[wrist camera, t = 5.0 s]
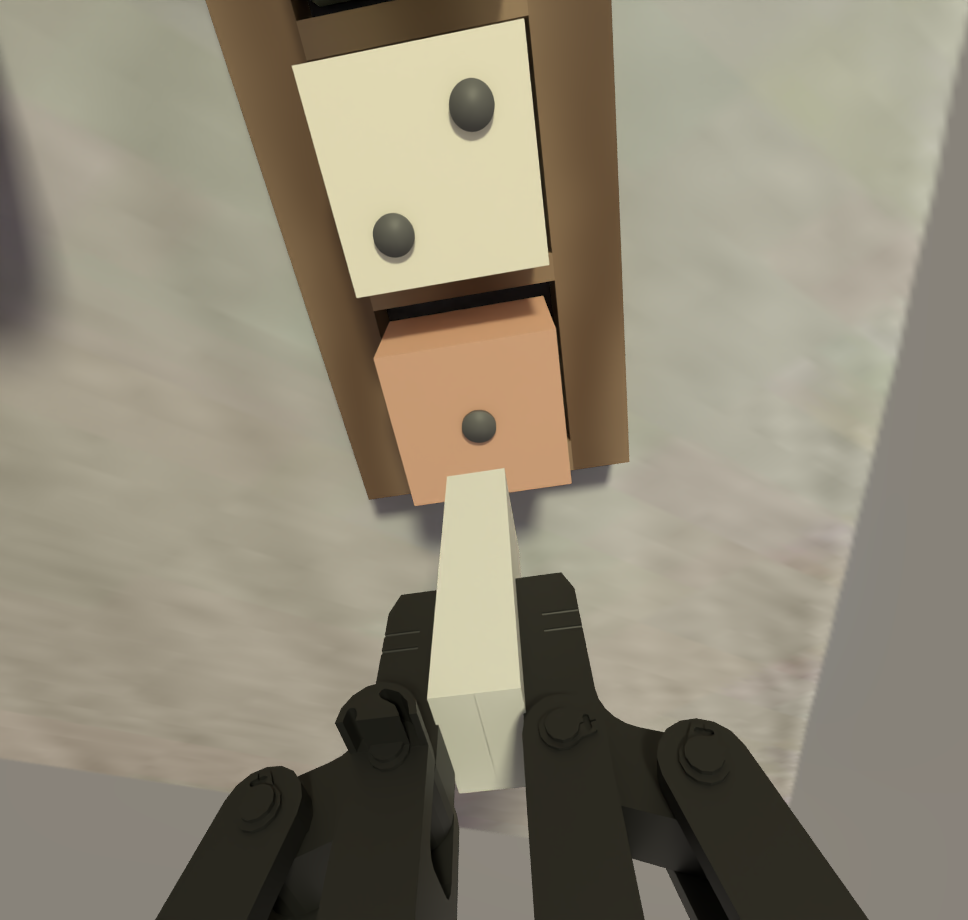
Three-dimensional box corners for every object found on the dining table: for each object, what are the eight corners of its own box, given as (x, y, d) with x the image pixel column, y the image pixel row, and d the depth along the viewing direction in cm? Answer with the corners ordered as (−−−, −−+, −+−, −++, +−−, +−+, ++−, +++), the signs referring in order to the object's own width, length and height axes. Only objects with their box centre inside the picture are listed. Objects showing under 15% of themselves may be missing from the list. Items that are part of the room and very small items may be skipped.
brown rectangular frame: (377, 471, 28) (369, 499, 26) (127, -338, 15) (70, -414, 13) (617, 435, 28) (629, 461, 25) (572, -455, 14) (589, -557, 12)
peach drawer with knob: (422, 453, 25) (414, 509, 21) (389, 321, 22) (372, 360, 18) (558, 433, 25) (572, 486, 21) (542, 295, 22) (556, 330, 18)
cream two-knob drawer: (376, 269, 21) (355, 299, 17) (326, 76, 18) (289, 65, 14) (536, 241, 21) (549, 266, 17) (514, 38, 18) (524, 17, 14)
